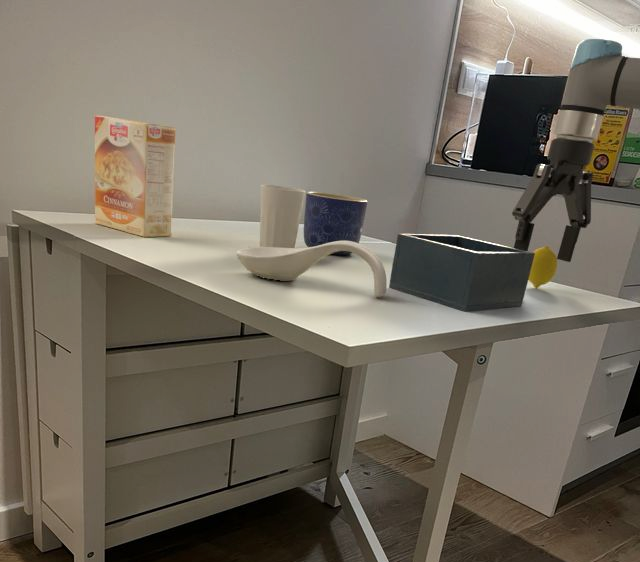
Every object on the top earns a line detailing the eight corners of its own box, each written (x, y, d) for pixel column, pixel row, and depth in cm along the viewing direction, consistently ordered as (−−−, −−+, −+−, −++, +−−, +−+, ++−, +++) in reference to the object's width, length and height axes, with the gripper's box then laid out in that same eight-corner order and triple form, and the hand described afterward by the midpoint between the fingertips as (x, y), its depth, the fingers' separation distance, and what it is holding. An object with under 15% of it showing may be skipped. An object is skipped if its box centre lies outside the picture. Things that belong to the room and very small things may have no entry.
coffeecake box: (93, 223, 130) (93, 114, 123) (123, 223, 136) (124, 119, 128) (143, 237, 122) (145, 122, 115) (172, 236, 128) (177, 126, 120)
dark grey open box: (521, 306, 109) (535, 253, 105) (465, 311, 99) (478, 253, 95) (446, 284, 119) (457, 235, 116) (388, 287, 109) (397, 233, 105)
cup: (275, 261, 118) (282, 190, 113) (245, 252, 122) (251, 183, 118) (306, 260, 123) (314, 192, 119) (276, 251, 128) (283, 186, 123)
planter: (287, 246, 137) (293, 190, 132) (328, 245, 145) (335, 193, 141) (331, 258, 129) (339, 199, 125) (371, 256, 138) (380, 202, 134)
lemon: (519, 287, 127) (530, 244, 124) (523, 283, 132) (533, 242, 129) (549, 292, 125) (560, 249, 122) (551, 288, 130) (562, 247, 127)
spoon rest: (223, 275, 100) (226, 226, 97) (250, 265, 110) (254, 221, 107) (376, 304, 95) (384, 253, 92) (389, 291, 106) (397, 245, 103)
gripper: (597, 146, 128) (565, 257, 136) (511, 128, 114) (482, 253, 123) (631, 150, 123) (596, 265, 131) (546, 131, 109) (513, 262, 117)
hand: (541, 259), depth 127 cm, fingers open, 13 cm apart
